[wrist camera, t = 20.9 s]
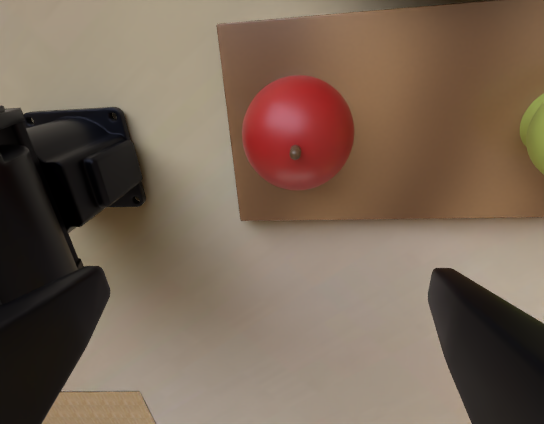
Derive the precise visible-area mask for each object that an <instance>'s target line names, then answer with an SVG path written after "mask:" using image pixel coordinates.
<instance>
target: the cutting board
mask: <svg viewBox="0 0 544 424" xmlns="http://www.w3.org/2000/svg"><path fill="white" fill-rule="evenodd" d="M217 33H218V41H219V49H220V57H221V65H222V73H223V81H224V90H225V98H226V106H227V114H228V122H229V130H230V138H231V146H232V155H233V163H234V171H235V179H236V187H237V195H238V203H239V211H240V219H241V221H266V220H346V219H426V218H505V217H544V175H543V174H542V173H541V172H540V171H539V170H538V169H537V168H536V167H535V165H534V164H533V163H532V161H531V159H530V157H529V155H528V151H527V147H526V146H525V145H524V144H523V142H522V140H521V137H520V123H521V120H522V117H523V115H524V113H525V112H526V110H527V108H528V107H529V106H530V105H531V104H532V103H533V101H534V100H536V99H537V98H538V97H539V96H541V95H542V94H543V93H544V0H490V1H478V2H467V3H455V4H443V5H432V6H420V7H408V8H397V9H385V10H374V11H362V12H350V13H339V14H327V15H316V16H304V17H292V18H281V19H269V20H257V21H246V22H234V23H223V24H217ZM293 75H305V76H312V77H315V78H318V79H321V80H323V81H325V82H327V83H328V84H330V85H331V86H333V87H334V88H335V89H336V90H337V91H338V92H339V93H340V94H341V95H342V96H343V98H344V99H345V101H346V102H347V104H348V106H349V109H350V111H351V114H352V117H353V122H354V142H353V146H352V150H351V152H350V155H349V158H348V159H347V161H346V163H345V165H344V166H343V167H342V169H341V170H340V171H339V172H338V173H337V174H336V175H335V176H334V177H333V178H331V179H330V180H329V181H327V182H326V183H324V184H322V185H320V186H318V187H315V188H312V189H307V190H287V189H283V188H279V187H277V186H274V185H272V184H271V183H269V182H267V181H266V180H264V179H263V178H262V177H261V176H260V175H259V174H258V173H257V172H256V171H255V170H254V169H253V167H252V166H251V164H250V163H249V161H248V159H247V157H246V154H245V151H244V148H243V142H242V125H243V120H244V116H245V114H246V111H247V109H248V107H249V105H250V103H251V102H252V100H253V99H254V97H255V96H256V95H257V94H258V93H259V92H260V91H261V90H262V89H263V88H264V87H265V86H267V85H268V84H270V83H272V82H273V81H275V80H278V79H280V78H283V77H287V76H293Z"/></svg>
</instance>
